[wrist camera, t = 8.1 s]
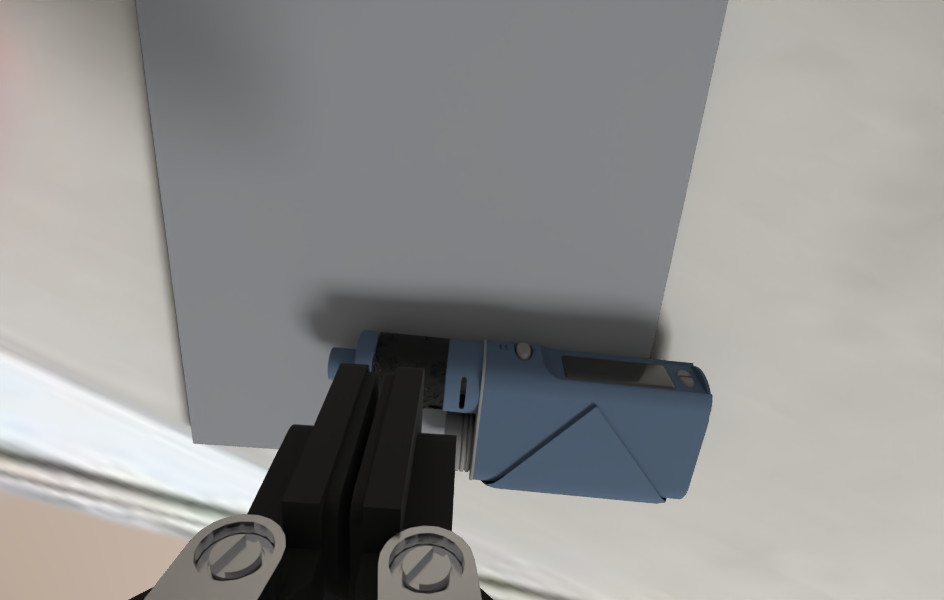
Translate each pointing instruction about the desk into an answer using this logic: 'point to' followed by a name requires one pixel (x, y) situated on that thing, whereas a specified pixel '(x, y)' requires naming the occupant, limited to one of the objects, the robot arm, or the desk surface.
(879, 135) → the desk surface
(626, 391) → the vaping device
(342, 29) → the mat
